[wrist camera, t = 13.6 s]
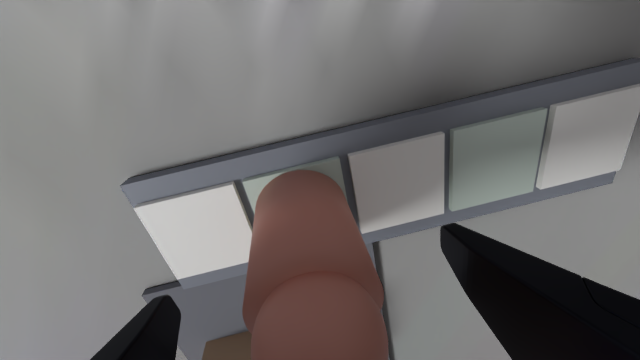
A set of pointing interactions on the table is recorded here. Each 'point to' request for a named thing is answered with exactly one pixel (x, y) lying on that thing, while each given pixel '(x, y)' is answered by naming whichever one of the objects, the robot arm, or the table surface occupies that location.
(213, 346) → the tan cardboard cube
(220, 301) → the mat
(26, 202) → the table surface
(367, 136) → the board
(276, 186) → the pawn
